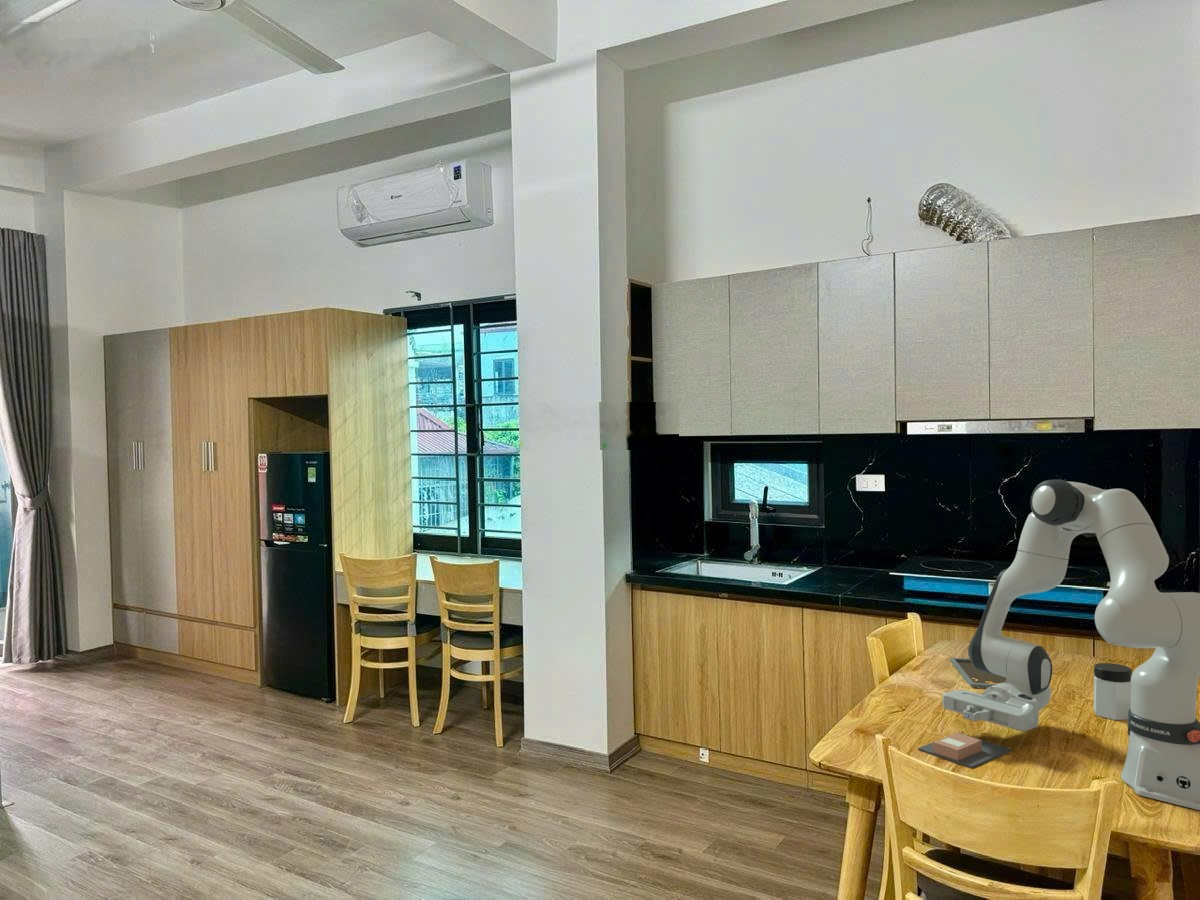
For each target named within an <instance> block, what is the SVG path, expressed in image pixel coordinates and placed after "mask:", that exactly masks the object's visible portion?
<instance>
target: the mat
mask: <svg viewBox="0 0 1200 900" xmlns="http://www.w3.org/2000/svg"><path fill="white" fill-rule="evenodd" d="M959 733H960V734H963V735H967V736H970V737H973V738H976V739H979V740H982V751H980V752H978V753H976V754H973V755H971V756H968V757H966V758H964V759H961V760H959V761H956V760H953V759H950V758H947V757H945V756H942V755H939V754H936V753H933V742H929V743H928V744H925V745H923V746H919V747H918V748H917V751H921V752H924V753H926V754H929V755H932V756H935V757H938V758H940V759H943V760H946V761H950V762H952V763H955V764H958V765H961V766H964V767H967V768H970V769H973V768H976V767H978V766H981V765H983V764H985V763H988V762H989V761H992V760H994V759H996V758H999V757H1001V756H1003V755H1006V754H1009V753H1010V752H1013V749H1012V748H1010V747H1007V746H1003V745H1000V744H998V743H997V744H996V743H993V742H991V741H987V740H984V739H981V738H978V737H975V736H971V735H969V734H966V733H962V732H959Z"/></svg>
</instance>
